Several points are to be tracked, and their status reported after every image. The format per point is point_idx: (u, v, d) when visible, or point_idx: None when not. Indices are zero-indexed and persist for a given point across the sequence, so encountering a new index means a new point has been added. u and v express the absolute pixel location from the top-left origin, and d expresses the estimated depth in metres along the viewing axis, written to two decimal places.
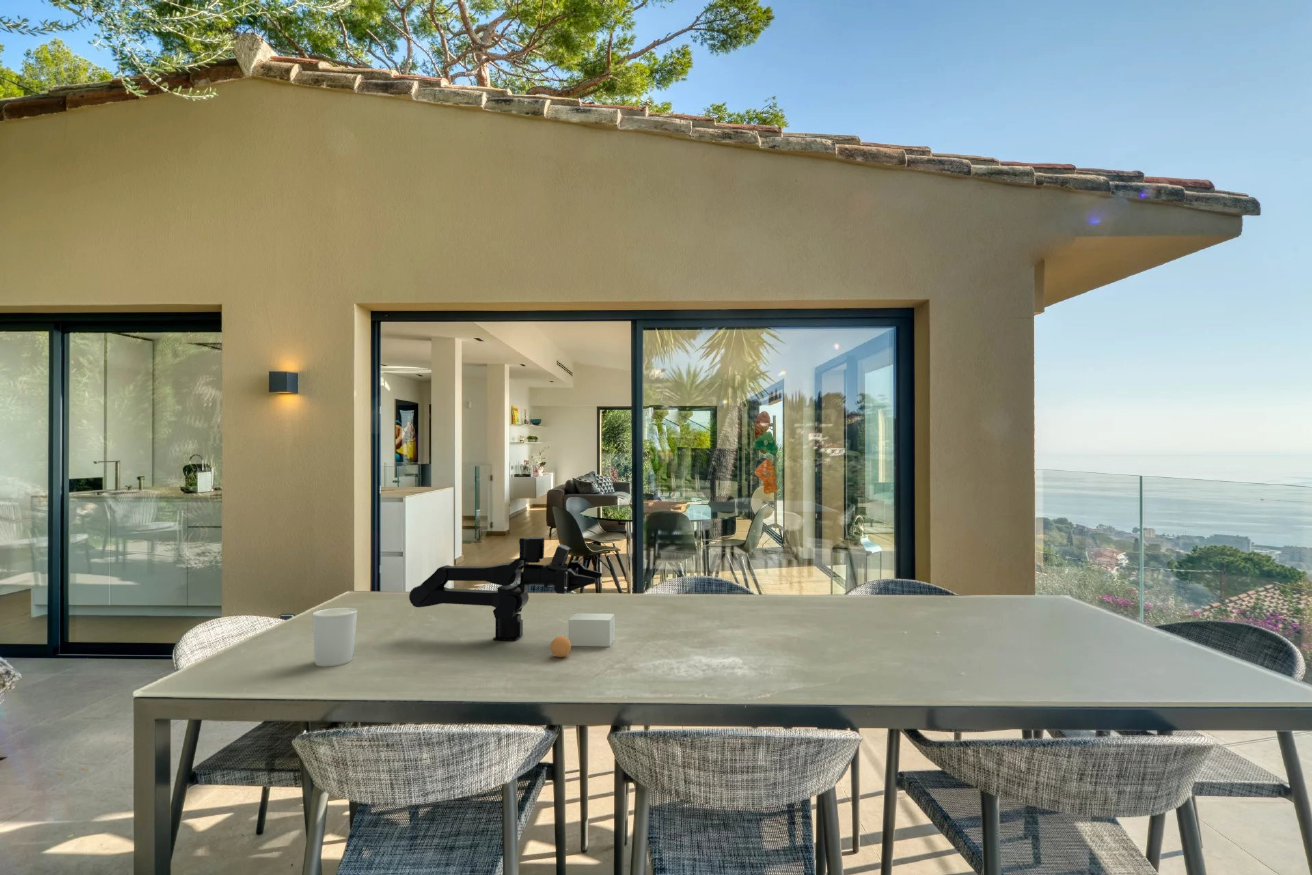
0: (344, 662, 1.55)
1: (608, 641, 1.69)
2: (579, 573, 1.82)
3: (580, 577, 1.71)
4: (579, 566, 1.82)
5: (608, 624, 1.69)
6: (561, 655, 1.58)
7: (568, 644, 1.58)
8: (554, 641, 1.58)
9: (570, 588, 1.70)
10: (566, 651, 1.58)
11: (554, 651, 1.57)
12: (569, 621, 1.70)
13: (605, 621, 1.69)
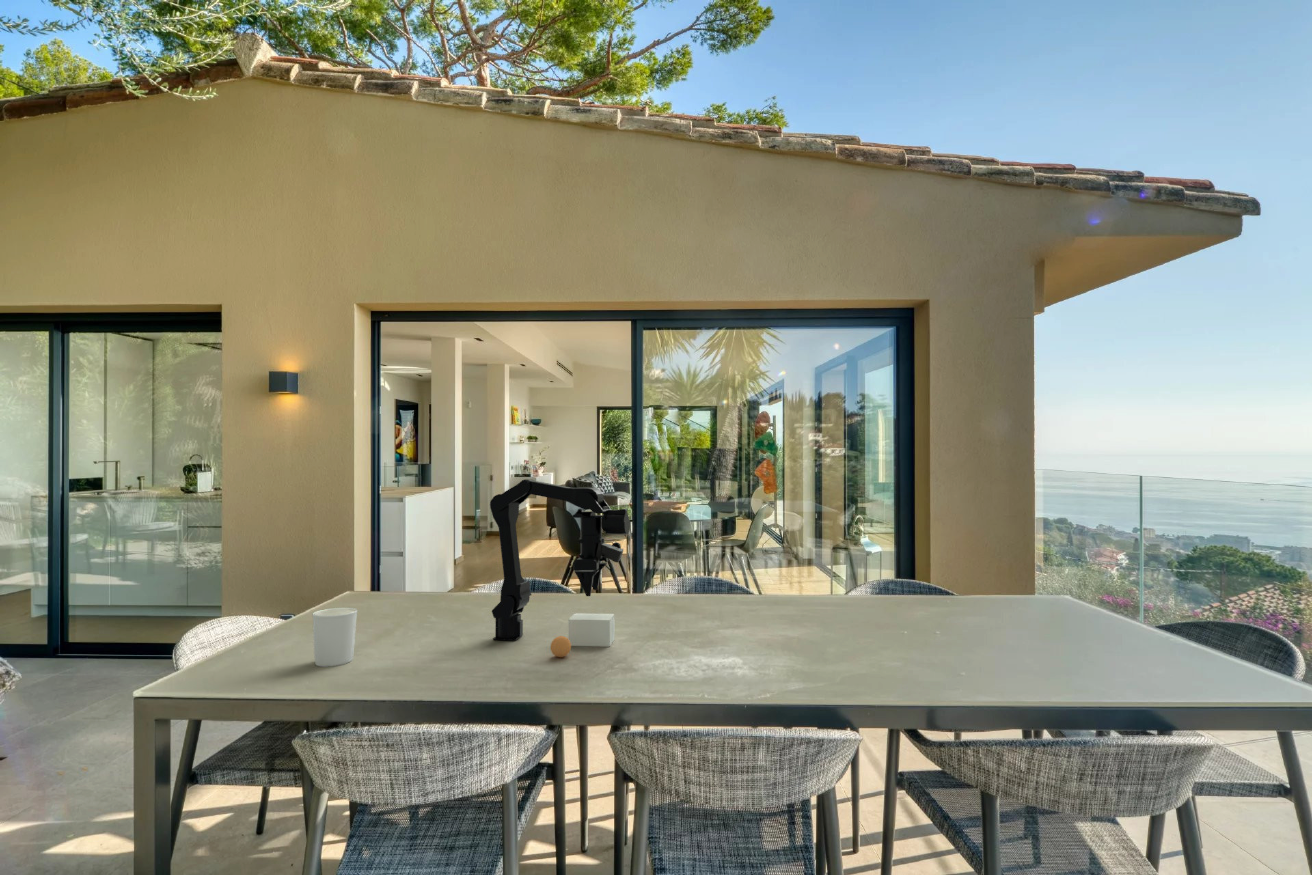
0: (344, 662, 1.55)
1: (608, 641, 1.69)
2: None
3: (590, 582, 1.68)
4: (602, 565, 1.79)
5: (608, 624, 1.69)
6: (561, 655, 1.58)
7: (568, 644, 1.58)
8: (554, 641, 1.58)
9: (578, 573, 1.67)
10: (566, 651, 1.58)
11: (554, 651, 1.57)
12: (569, 621, 1.70)
13: (605, 621, 1.69)
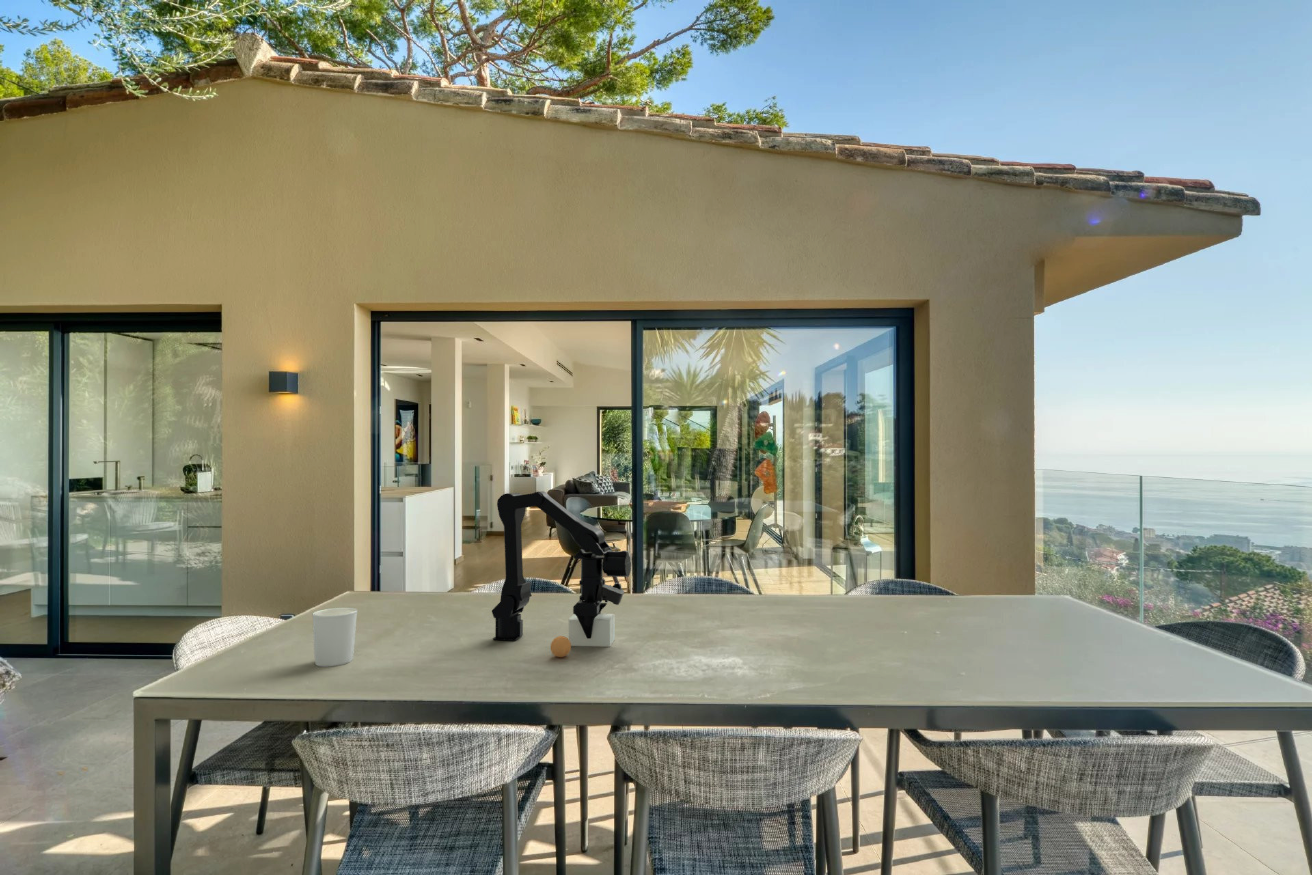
0: (344, 662, 1.55)
1: (608, 641, 1.69)
2: None
3: (591, 624, 1.68)
4: (602, 606, 1.77)
5: (608, 624, 1.69)
6: (561, 655, 1.58)
7: (568, 644, 1.58)
8: (554, 641, 1.58)
9: (579, 615, 1.67)
10: (566, 651, 1.58)
11: (554, 651, 1.57)
12: (569, 621, 1.70)
13: (605, 621, 1.69)
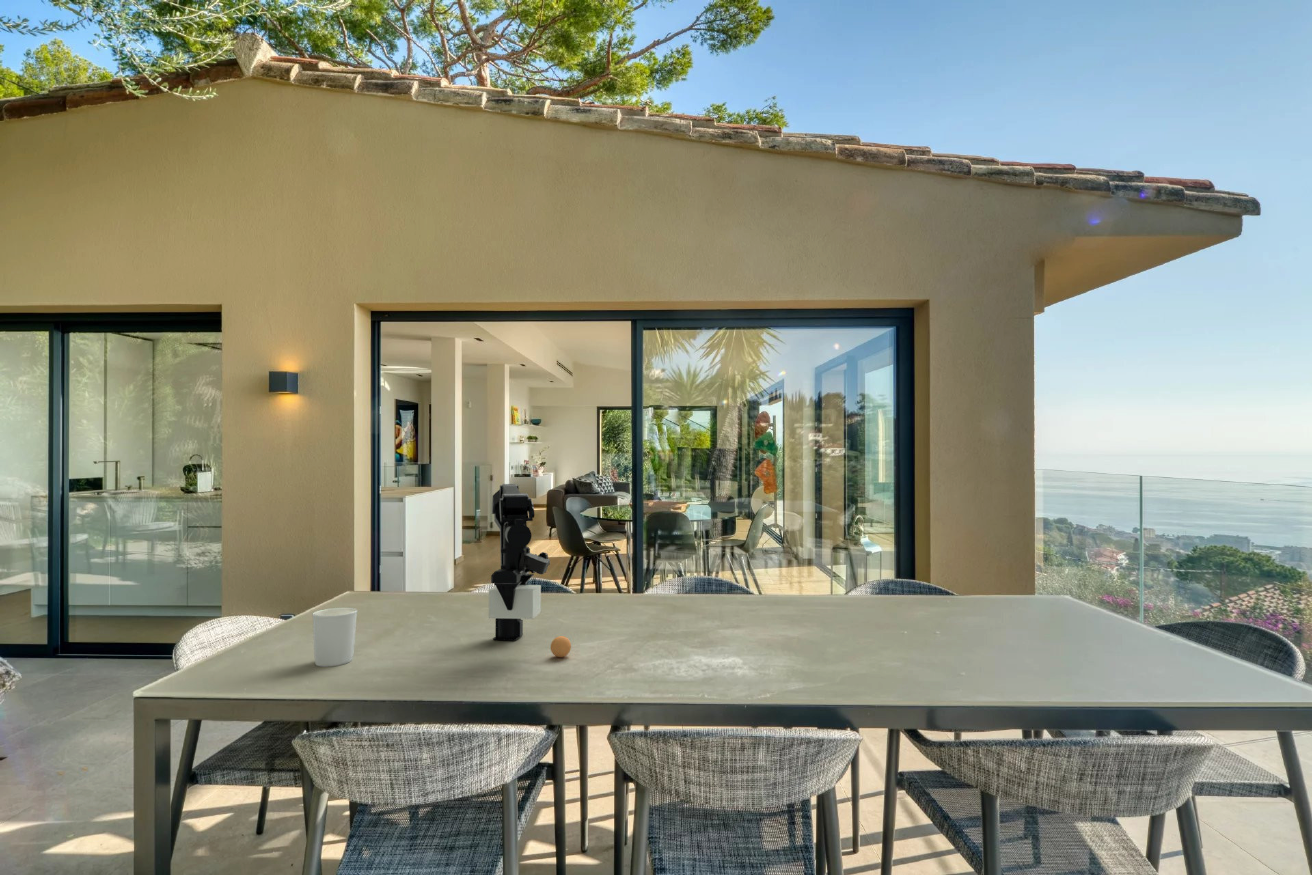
0: (344, 662, 1.55)
1: (531, 613, 1.57)
2: (520, 577, 1.66)
3: (511, 595, 1.56)
4: (527, 577, 1.66)
5: (531, 595, 1.57)
6: (561, 655, 1.58)
7: (568, 644, 1.58)
8: (554, 641, 1.58)
9: (499, 585, 1.56)
10: (566, 651, 1.58)
11: (554, 651, 1.57)
12: (489, 592, 1.58)
13: (528, 591, 1.58)
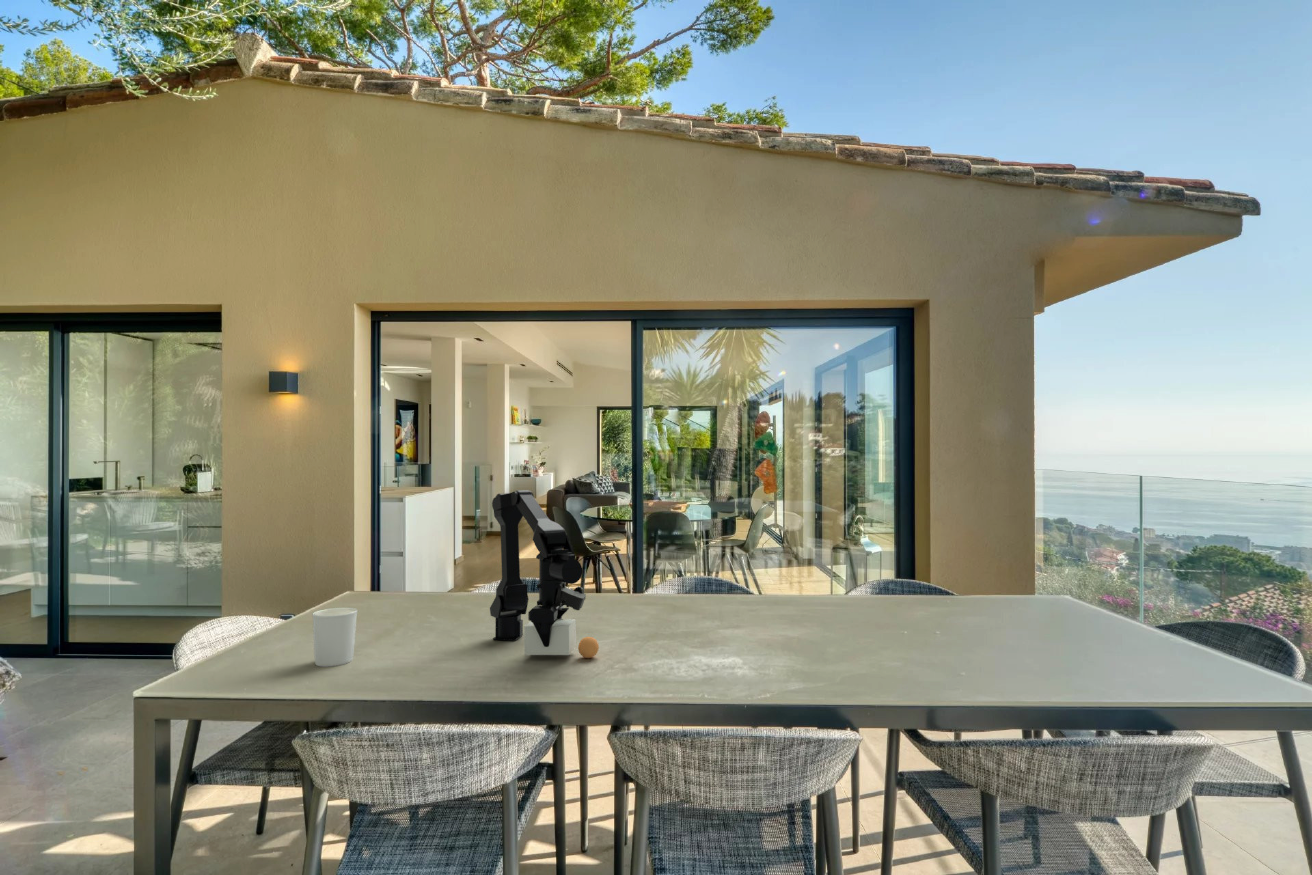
0: (344, 662, 1.55)
1: (567, 649, 1.56)
2: None
3: (548, 631, 1.55)
4: (563, 611, 1.64)
5: (567, 631, 1.56)
6: (582, 643, 1.57)
7: None
8: (594, 653, 1.57)
9: None
10: (579, 648, 1.57)
11: (589, 645, 1.57)
12: (525, 628, 1.57)
13: (564, 627, 1.56)
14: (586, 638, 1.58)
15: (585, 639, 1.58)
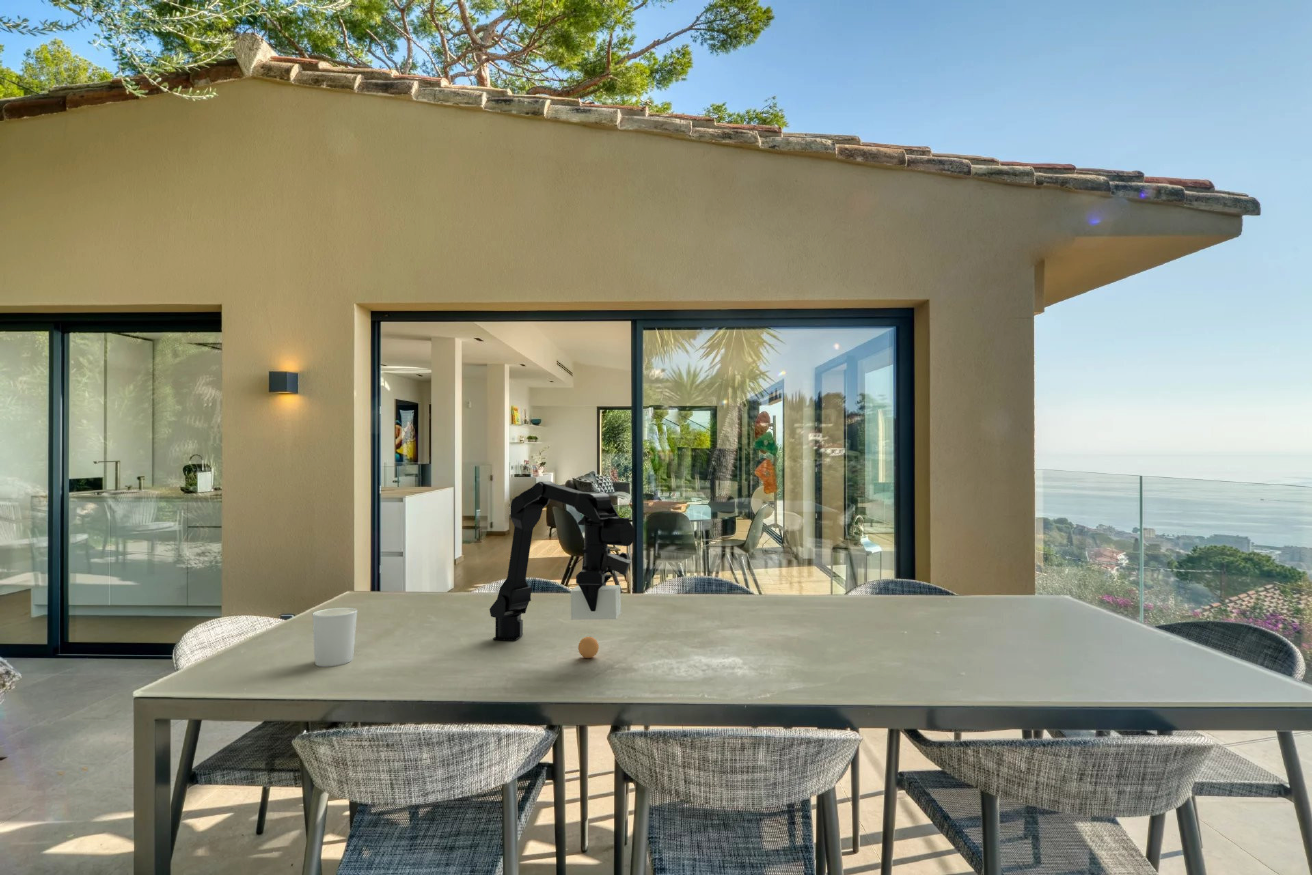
0: (344, 662, 1.55)
1: (614, 613, 1.55)
2: None
3: (595, 596, 1.54)
4: (607, 577, 1.64)
5: (614, 595, 1.55)
6: (582, 643, 1.57)
7: None
8: (594, 653, 1.57)
9: (582, 586, 1.54)
10: (579, 648, 1.57)
11: (589, 645, 1.57)
12: (571, 593, 1.56)
13: (610, 592, 1.55)
14: (586, 638, 1.58)
15: (585, 639, 1.58)
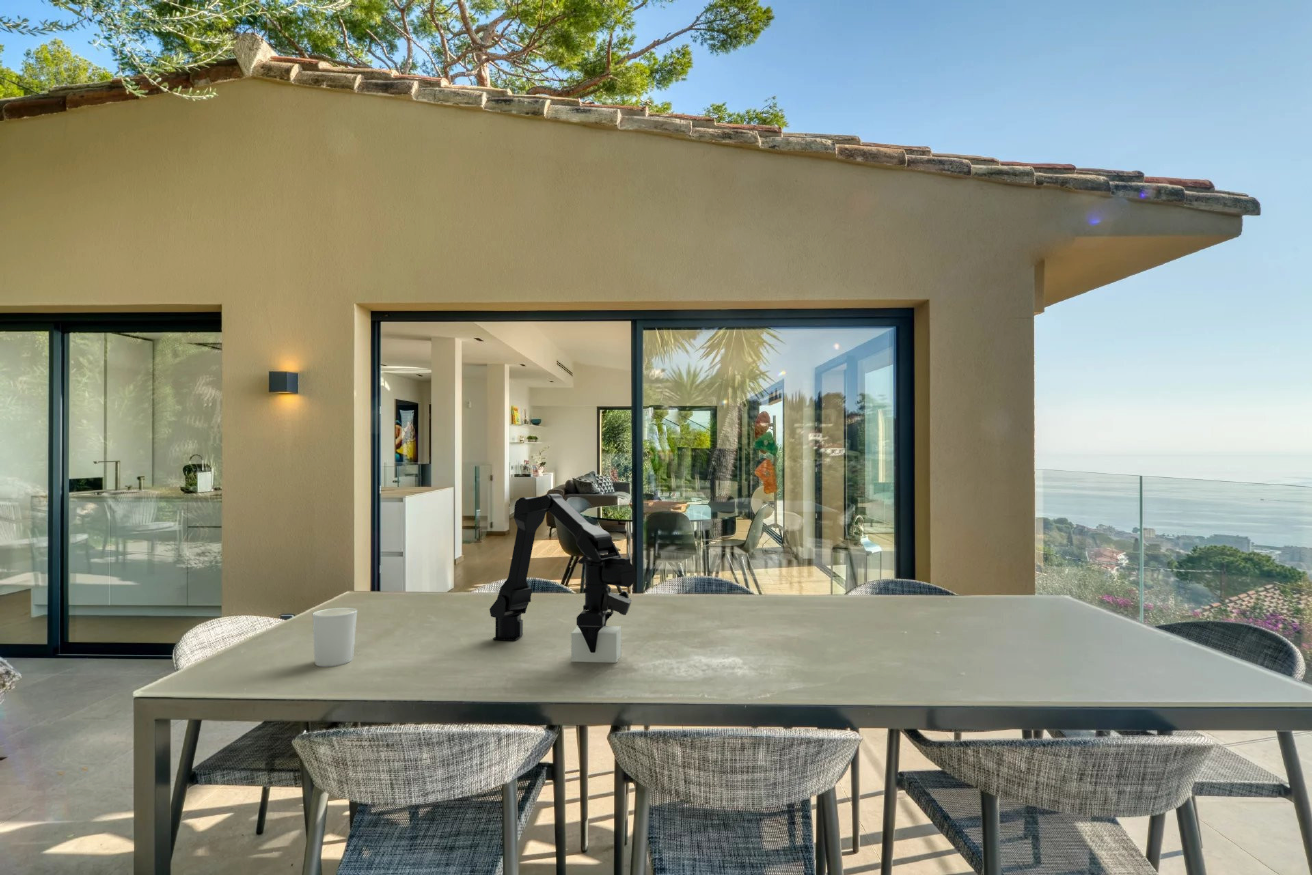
0: (344, 662, 1.55)
1: (615, 657, 1.54)
2: None
3: (595, 637, 1.53)
4: (608, 615, 1.64)
5: (615, 638, 1.55)
6: None
7: None
8: None
9: (582, 627, 1.52)
10: None
11: None
12: (572, 635, 1.56)
13: (611, 635, 1.55)
14: None
15: None
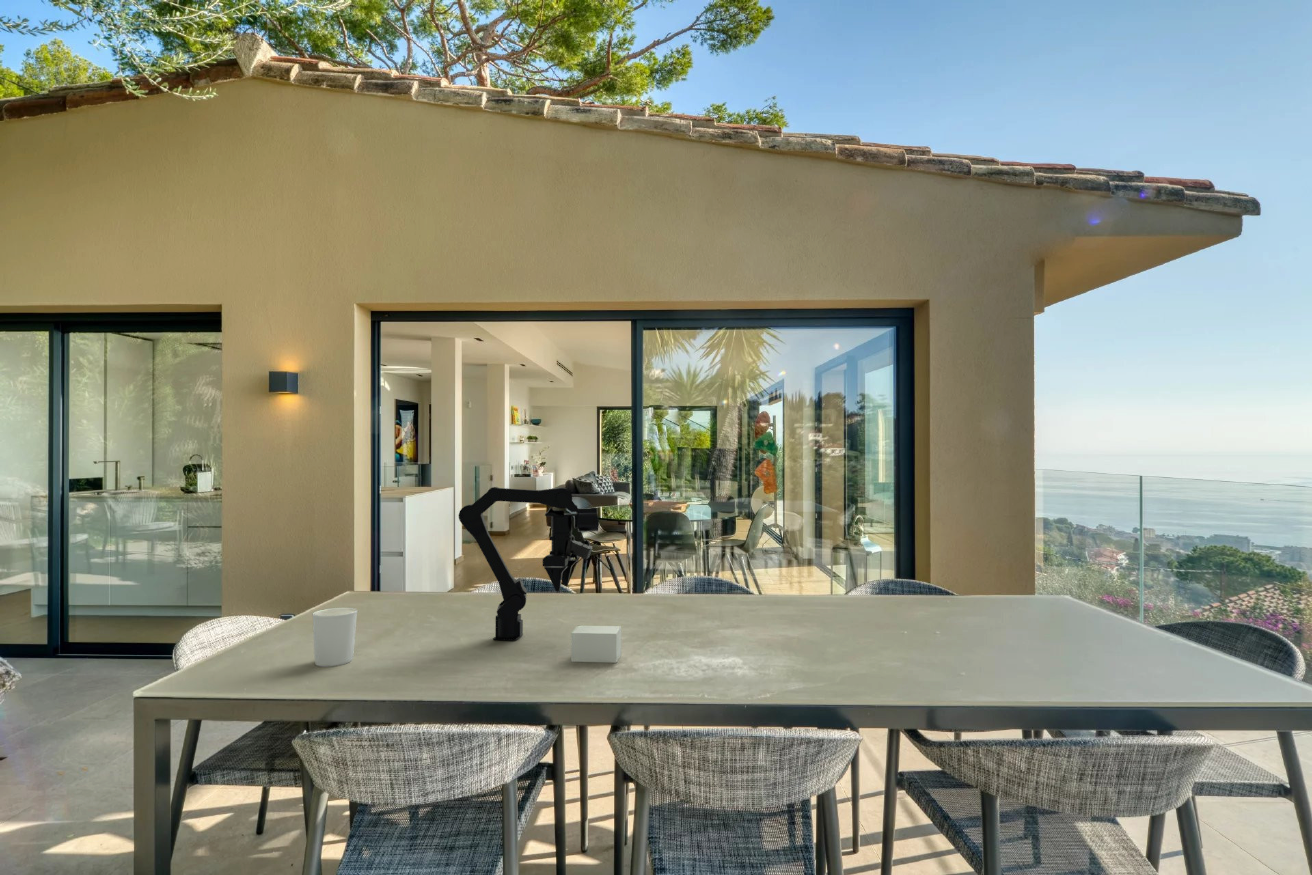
0: (344, 662, 1.55)
1: (615, 657, 1.54)
2: None
3: (559, 577, 1.76)
4: (572, 562, 1.87)
5: (615, 638, 1.55)
6: None
7: None
8: None
9: (548, 569, 1.75)
10: None
11: None
12: (572, 635, 1.56)
13: (611, 635, 1.55)
14: None
15: None
